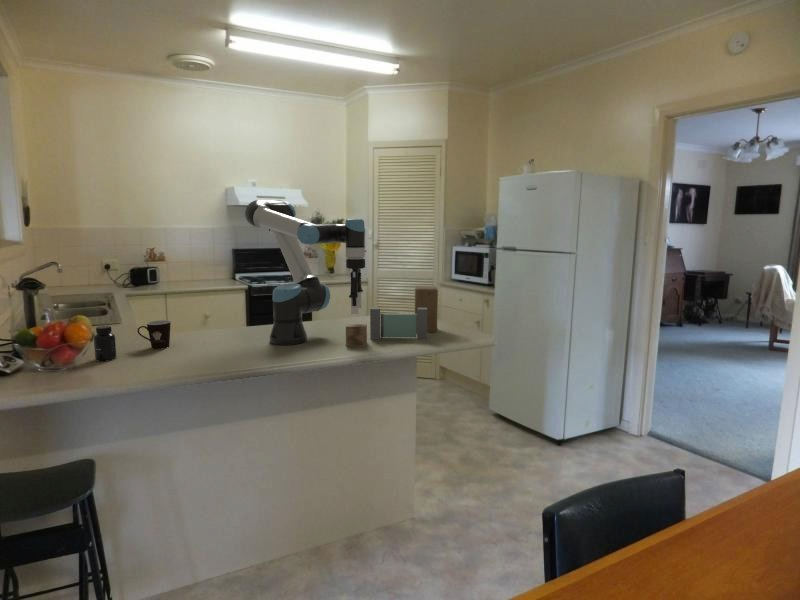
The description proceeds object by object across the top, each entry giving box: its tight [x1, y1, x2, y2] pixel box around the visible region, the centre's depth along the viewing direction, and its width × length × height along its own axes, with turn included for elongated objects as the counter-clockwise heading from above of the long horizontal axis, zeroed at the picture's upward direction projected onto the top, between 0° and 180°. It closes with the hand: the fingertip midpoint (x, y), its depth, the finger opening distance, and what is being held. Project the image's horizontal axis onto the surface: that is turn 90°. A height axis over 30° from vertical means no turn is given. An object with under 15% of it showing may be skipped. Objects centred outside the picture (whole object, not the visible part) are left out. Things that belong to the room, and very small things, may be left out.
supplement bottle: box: [93, 325, 117, 362], centre depth 186 cm, size 7×7×12 cm
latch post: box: [416, 308, 428, 340], centre depth 218 cm, size 4×4×13 cm
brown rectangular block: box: [345, 323, 368, 347], centre depth 208 cm, size 8×5×8 cm, turn 89°
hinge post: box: [369, 306, 381, 340], centre depth 218 cm, size 4×4×13 cm
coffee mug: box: [137, 319, 172, 350], centre depth 203 cm, size 12×9×10 cm
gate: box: [380, 313, 417, 338], centre depth 218 cm, size 15×1×10 cm, turn 89°
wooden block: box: [414, 285, 439, 334], centre depth 232 cm, size 10×10×20 cm
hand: (356, 310), depth 206 cm, fingers open, 13 cm apart
